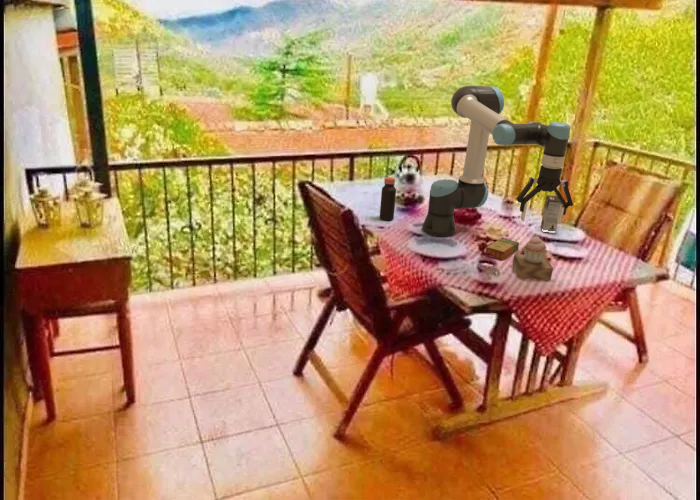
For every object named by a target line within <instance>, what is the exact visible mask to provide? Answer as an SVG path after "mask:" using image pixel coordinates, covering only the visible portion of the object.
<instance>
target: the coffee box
mask: <svg viewBox="0 0 700 500" xmlns="http://www.w3.org/2000/svg"><path fill="white" fill-rule="evenodd" d="M560 205H562V206H563V204H562V203H561V201H560V200H559V198H558V196H557V195H548V194H547V195H546V196H545V202H544V208H543V212H542V217H541V223H540V228H541V227H542V229H543V230H548V231H556V232H557V227H558V225H559V224H558V222H557V218H558V214H559V209H560ZM542 229H541V230H542Z"/></svg>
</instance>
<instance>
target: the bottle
mask: <svg viewBox="0 0 700 500" xmlns="http://www.w3.org/2000/svg"><path fill="white" fill-rule="evenodd" d="M383 183H384V186H383V187H382V188H381V196H380V206H379V220H381V221H385V222H391V221H393V220H394V218H395V210H396V209H395V207H396V206H395V205H396V197H397V196H396V194H397V189H396V187H395V183H396V178H394V177H393V176H392V177H391V176H386V177H384V182H383Z"/></svg>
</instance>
